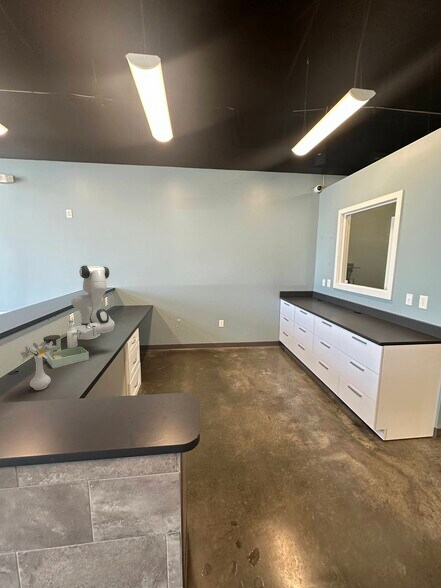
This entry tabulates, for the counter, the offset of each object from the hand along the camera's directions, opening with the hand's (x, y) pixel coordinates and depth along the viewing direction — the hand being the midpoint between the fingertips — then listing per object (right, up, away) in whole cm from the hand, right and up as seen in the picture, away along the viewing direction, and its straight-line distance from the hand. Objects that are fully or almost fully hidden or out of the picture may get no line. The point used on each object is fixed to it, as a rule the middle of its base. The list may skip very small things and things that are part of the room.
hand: (70, 332), depth 171 cm
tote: (-2, -20, +1) cm, 20 cm away
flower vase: (+4, -25, -34) cm, 42 cm away
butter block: (-6, -20, -3) cm, 21 cm away
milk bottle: (0, -10, +2) cm, 10 cm away
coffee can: (-18, -18, +10) cm, 28 cm away
